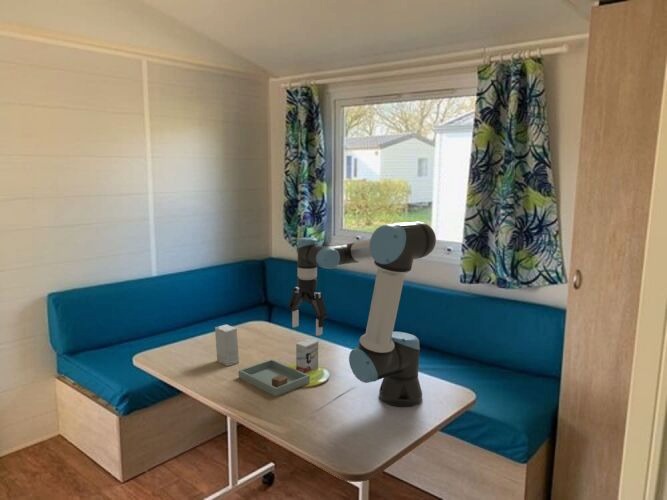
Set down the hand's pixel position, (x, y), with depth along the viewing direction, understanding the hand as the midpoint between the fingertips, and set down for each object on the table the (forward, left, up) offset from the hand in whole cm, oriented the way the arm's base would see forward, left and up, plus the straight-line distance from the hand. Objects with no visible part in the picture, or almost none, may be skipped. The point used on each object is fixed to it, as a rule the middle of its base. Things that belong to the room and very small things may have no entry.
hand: (307, 330), depth 197 cm
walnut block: (-7, +20, -15) cm, 26 cm away
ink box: (0, 0, -17) cm, 17 cm away
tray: (0, +17, -16) cm, 24 cm away
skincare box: (+29, +18, -17) cm, 38 cm away
